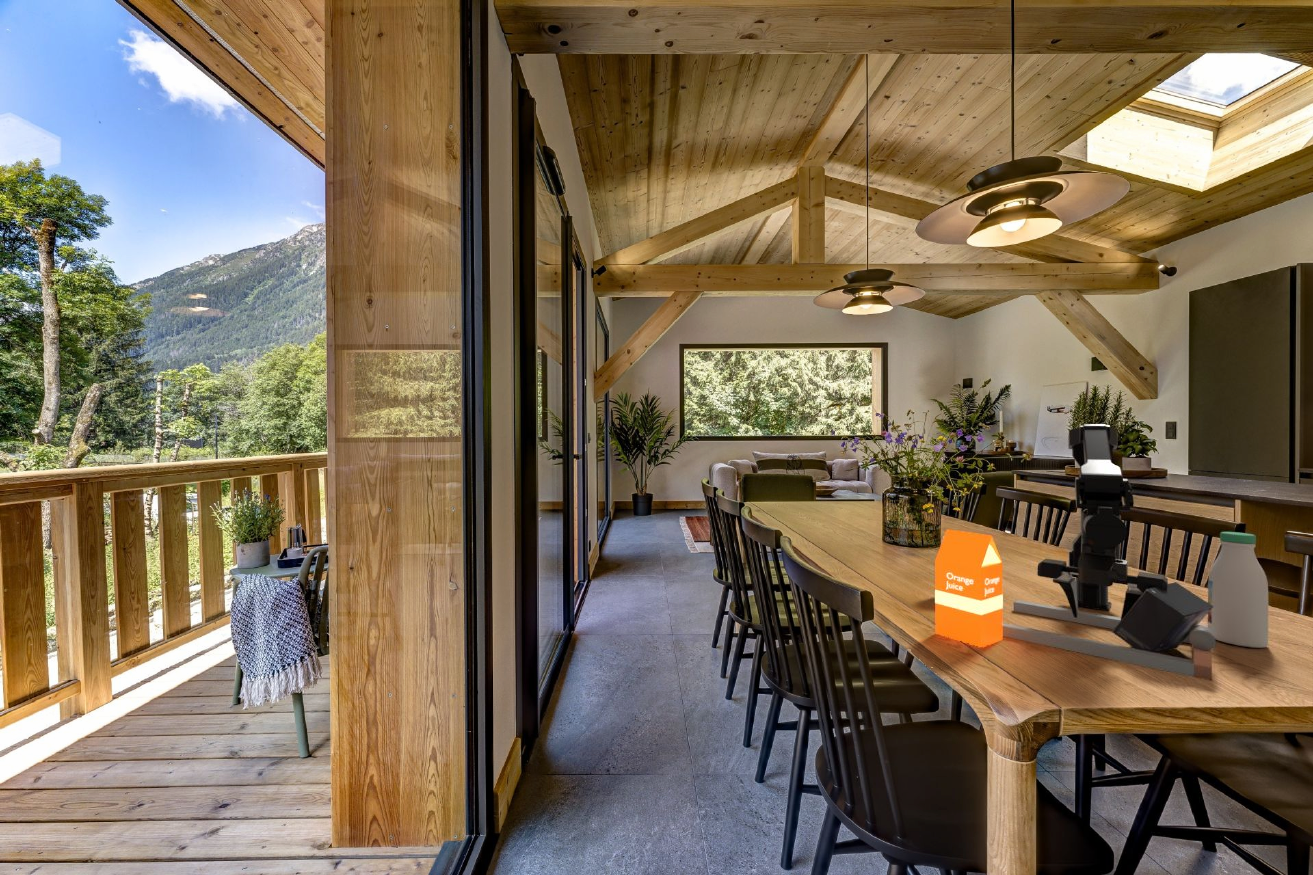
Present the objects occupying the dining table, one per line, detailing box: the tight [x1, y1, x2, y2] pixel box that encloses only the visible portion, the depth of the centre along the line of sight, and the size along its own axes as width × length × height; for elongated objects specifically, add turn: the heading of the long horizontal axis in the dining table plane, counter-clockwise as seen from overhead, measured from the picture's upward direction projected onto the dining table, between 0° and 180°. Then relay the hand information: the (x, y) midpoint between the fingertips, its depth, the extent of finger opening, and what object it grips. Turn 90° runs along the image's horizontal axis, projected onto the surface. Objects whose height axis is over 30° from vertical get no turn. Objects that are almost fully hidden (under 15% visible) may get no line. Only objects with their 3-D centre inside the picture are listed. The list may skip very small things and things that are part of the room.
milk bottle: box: [1207, 531, 1269, 649], centre depth 102 cm, size 8×8×20 cm
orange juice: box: [934, 528, 1004, 648], centre depth 106 cm, size 8×9×20 cm
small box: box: [1111, 581, 1213, 654], centre depth 97 cm, size 11×6×10 cm, turn 116°
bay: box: [1003, 599, 1217, 681], centre depth 104 cm, size 21×30×7 cm
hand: (1098, 621), depth 104 cm, fingers open, 7 cm apart
